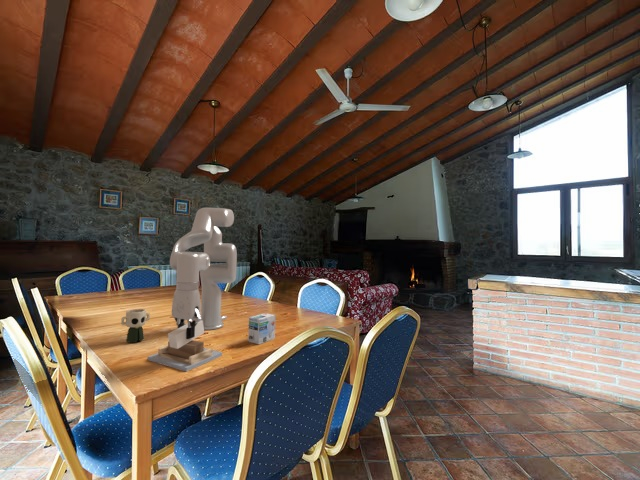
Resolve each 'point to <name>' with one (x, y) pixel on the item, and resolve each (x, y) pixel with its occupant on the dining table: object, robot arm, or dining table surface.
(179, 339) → the plank
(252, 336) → the light bulb box
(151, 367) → the dining table surface
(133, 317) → the character mug
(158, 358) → the jig board
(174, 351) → the brown rectangular block
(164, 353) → the cradle
